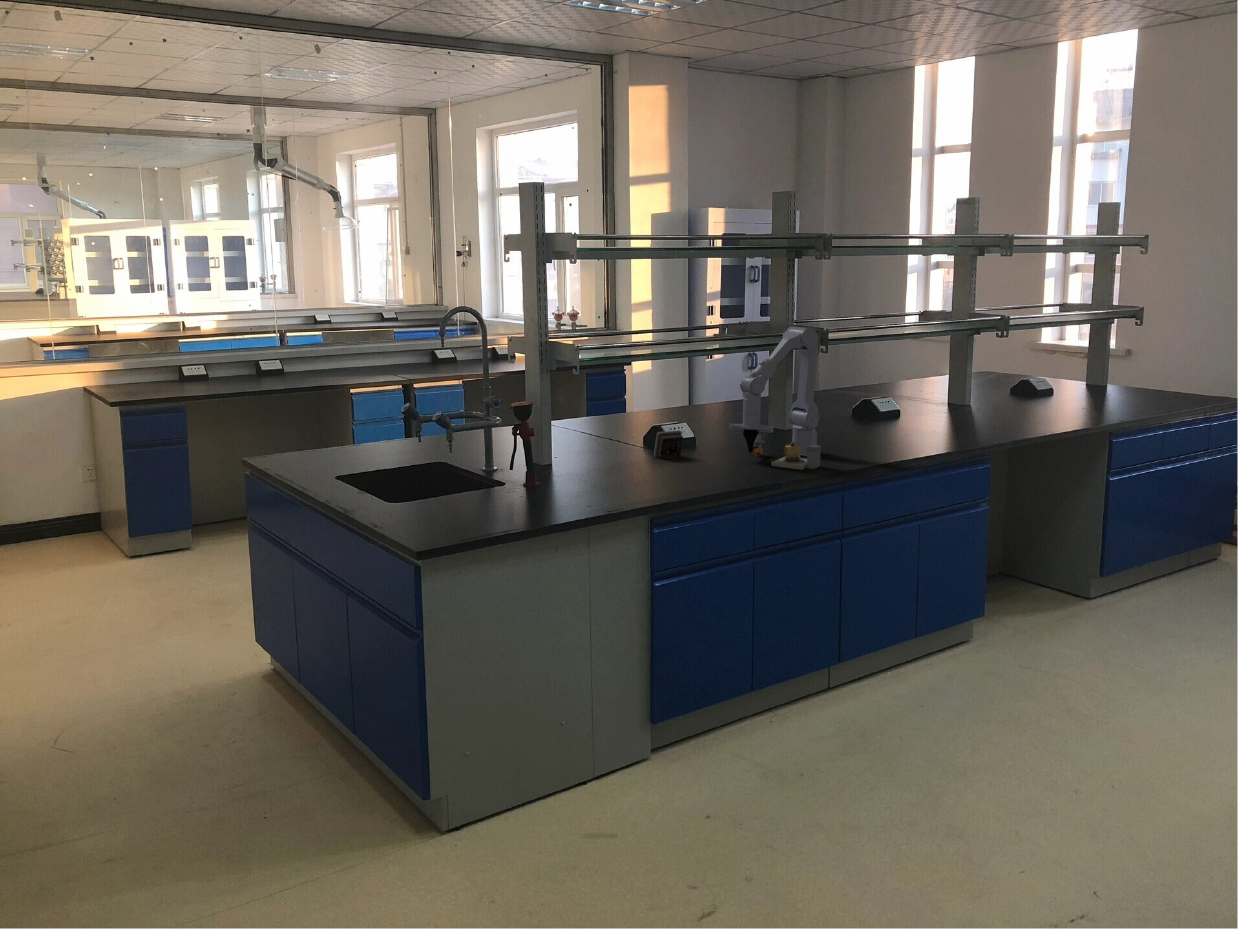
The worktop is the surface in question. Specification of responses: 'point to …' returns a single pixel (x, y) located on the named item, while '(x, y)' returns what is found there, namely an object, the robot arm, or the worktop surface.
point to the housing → (792, 452)
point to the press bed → (802, 460)
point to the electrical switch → (668, 444)
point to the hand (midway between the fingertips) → (750, 452)
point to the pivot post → (758, 441)
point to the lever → (757, 450)
